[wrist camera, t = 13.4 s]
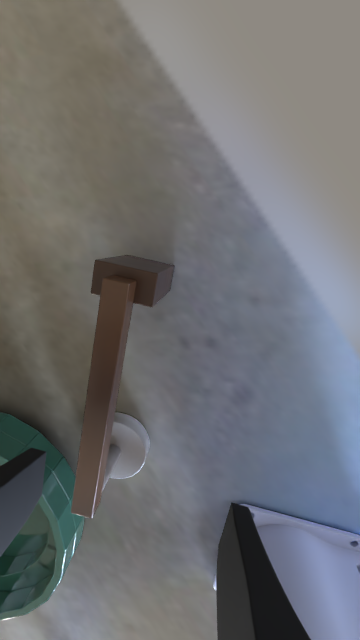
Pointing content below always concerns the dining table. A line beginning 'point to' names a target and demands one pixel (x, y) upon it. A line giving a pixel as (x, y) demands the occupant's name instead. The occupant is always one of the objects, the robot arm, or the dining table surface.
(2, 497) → the robot arm
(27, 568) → the bowl
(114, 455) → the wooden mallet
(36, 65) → the dining table surface
